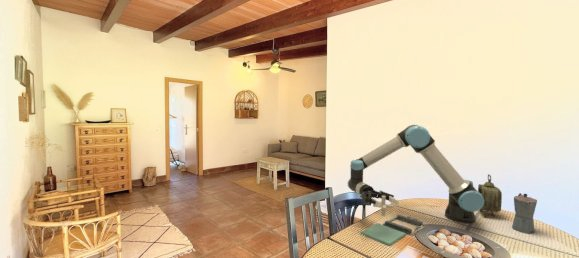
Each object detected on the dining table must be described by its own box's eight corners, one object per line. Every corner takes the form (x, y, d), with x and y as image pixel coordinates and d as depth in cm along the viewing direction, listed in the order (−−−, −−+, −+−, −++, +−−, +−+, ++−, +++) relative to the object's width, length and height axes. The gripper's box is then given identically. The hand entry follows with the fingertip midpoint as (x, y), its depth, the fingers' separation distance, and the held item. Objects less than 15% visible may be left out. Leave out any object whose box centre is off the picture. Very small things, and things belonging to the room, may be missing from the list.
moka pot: (518, 234, 133) (520, 196, 132) (505, 222, 147) (506, 188, 146) (541, 237, 130) (544, 198, 128) (526, 224, 144) (528, 189, 143)
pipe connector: (395, 220, 127) (396, 200, 127) (374, 218, 129) (374, 198, 129) (391, 212, 137) (392, 193, 136) (372, 210, 139) (372, 192, 138)
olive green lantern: (477, 209, 166) (478, 171, 165) (494, 212, 162) (496, 172, 161) (481, 218, 154) (483, 176, 152) (501, 220, 149) (503, 178, 148)
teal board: (377, 225, 145) (377, 223, 145) (405, 235, 133) (405, 233, 133) (360, 234, 135) (360, 231, 135) (389, 246, 122) (389, 243, 122)
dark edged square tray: (398, 216, 157) (399, 212, 157) (427, 225, 144) (427, 221, 144) (382, 225, 145) (382, 220, 145) (412, 235, 132) (412, 231, 132)
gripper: (381, 195, 153) (407, 209, 131) (347, 198, 147) (369, 213, 126) (381, 182, 152) (408, 194, 131) (347, 185, 147) (369, 198, 125)
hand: (389, 204), depth 128 cm, fingers closed on pipe connector, 9 cm apart
